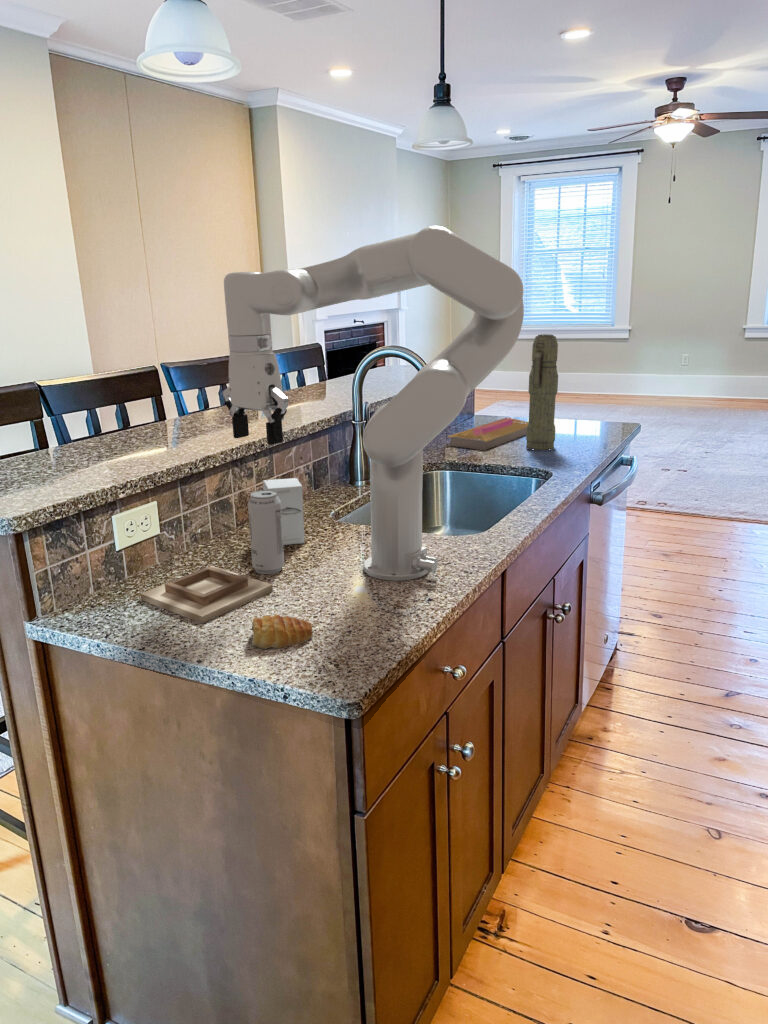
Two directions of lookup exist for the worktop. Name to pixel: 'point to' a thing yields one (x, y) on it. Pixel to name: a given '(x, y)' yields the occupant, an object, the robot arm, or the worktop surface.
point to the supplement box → (289, 508)
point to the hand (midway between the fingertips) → (258, 440)
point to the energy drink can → (266, 532)
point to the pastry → (279, 631)
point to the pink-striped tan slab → (501, 427)
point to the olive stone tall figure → (542, 393)
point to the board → (206, 593)
